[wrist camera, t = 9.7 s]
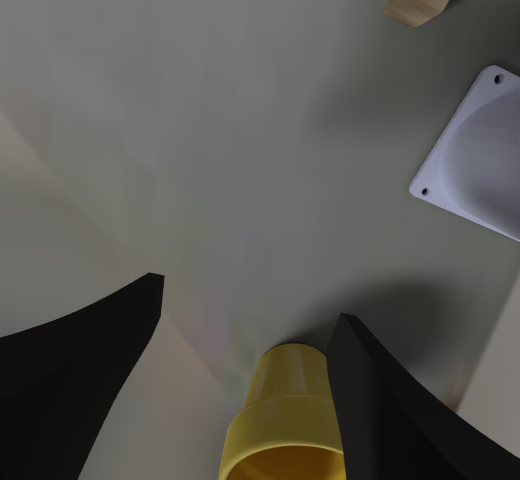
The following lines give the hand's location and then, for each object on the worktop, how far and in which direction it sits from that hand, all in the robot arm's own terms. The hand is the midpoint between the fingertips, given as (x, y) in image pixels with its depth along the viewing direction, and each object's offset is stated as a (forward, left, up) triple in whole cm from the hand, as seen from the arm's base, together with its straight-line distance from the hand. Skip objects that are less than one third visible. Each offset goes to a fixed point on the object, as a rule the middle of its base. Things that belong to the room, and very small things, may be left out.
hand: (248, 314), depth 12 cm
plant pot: (-8, +12, -11) cm, 18 cm away
